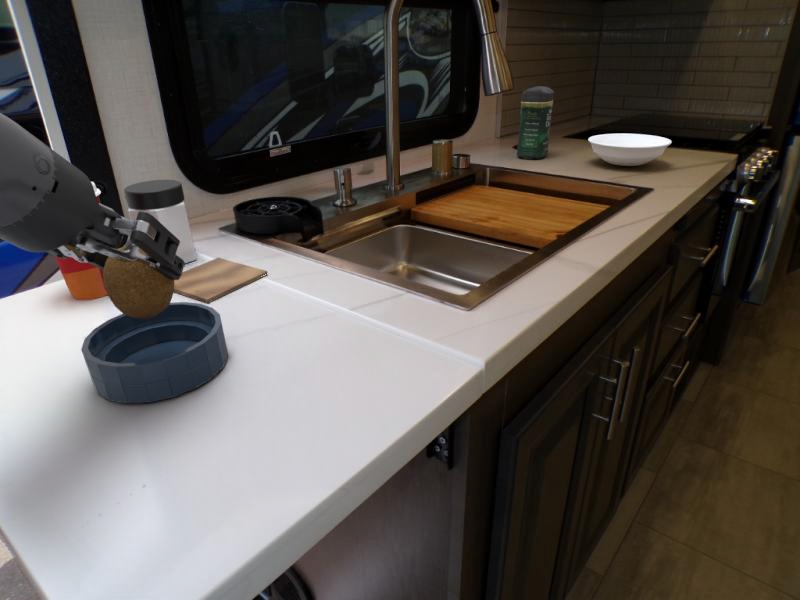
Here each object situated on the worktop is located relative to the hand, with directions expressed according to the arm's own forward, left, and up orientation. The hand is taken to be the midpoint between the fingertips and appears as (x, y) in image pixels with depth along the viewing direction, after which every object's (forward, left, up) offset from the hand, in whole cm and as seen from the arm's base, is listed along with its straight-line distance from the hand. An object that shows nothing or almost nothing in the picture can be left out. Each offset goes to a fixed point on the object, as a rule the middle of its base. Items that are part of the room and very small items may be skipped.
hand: (149, 268), depth 53 cm
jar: (-26, +19, -11) cm, 34 cm away
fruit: (+1, -2, -5) cm, 5 cm away
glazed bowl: (+1, -1, -11) cm, 11 cm away
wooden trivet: (-13, +17, -11) cm, 24 cm away
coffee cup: (-25, +6, -11) cm, 28 cm away
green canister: (-3, +121, -11) cm, 121 cm away
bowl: (+22, +121, -11) cm, 123 cm away
